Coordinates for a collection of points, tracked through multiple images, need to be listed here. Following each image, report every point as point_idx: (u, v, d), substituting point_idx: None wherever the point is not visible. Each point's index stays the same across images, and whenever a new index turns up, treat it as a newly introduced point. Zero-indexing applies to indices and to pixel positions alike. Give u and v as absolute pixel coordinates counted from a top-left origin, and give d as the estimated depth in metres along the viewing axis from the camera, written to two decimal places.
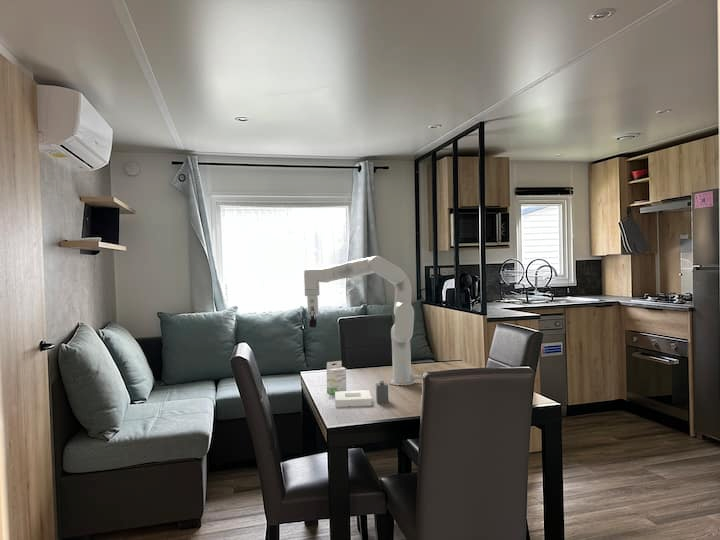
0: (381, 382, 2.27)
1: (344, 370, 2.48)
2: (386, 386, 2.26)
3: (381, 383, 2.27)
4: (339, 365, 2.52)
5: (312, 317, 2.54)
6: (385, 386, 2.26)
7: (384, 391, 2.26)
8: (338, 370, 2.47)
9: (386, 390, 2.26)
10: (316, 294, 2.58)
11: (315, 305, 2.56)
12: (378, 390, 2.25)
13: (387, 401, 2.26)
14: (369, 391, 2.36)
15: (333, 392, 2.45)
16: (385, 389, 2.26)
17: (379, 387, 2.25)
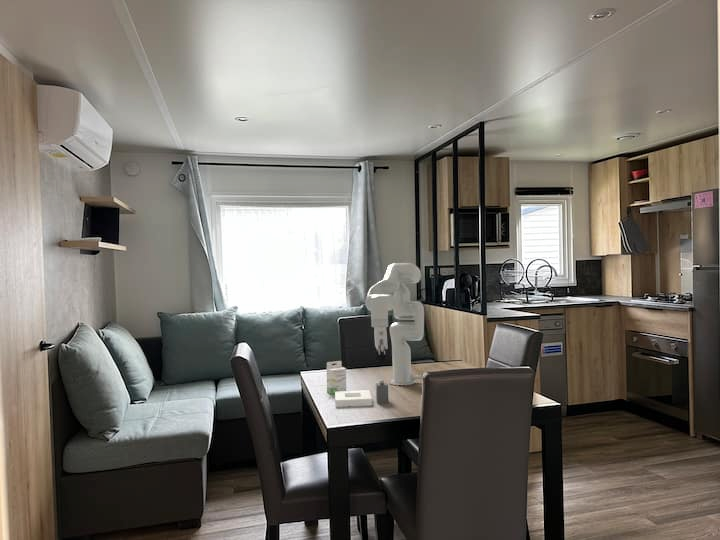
0: (381, 382, 2.27)
1: (344, 370, 2.48)
2: (386, 386, 2.26)
3: (381, 383, 2.27)
4: (339, 365, 2.52)
5: (382, 352, 2.21)
6: (385, 386, 2.26)
7: (384, 391, 2.26)
8: (338, 370, 2.47)
9: (386, 390, 2.26)
10: (385, 325, 2.25)
11: (385, 338, 2.23)
12: (378, 390, 2.25)
13: (387, 401, 2.26)
14: (369, 391, 2.36)
15: (333, 392, 2.45)
16: (385, 389, 2.26)
17: (379, 387, 2.25)
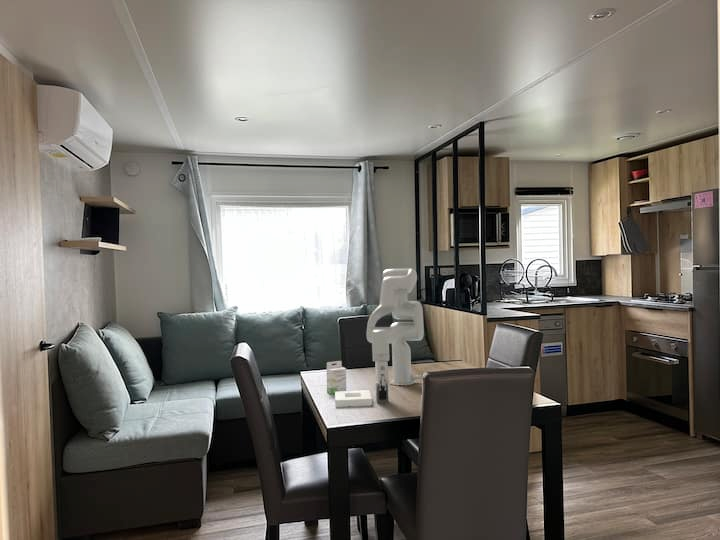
0: (381, 382, 2.27)
1: (344, 370, 2.48)
2: (386, 386, 2.26)
3: None
4: (339, 365, 2.52)
5: (383, 388, 2.23)
6: None
7: None
8: (338, 370, 2.47)
9: (386, 390, 2.26)
10: (386, 359, 2.25)
11: (386, 373, 2.23)
12: (378, 390, 2.25)
13: (387, 401, 2.26)
14: (369, 391, 2.36)
15: (333, 392, 2.45)
16: None
17: None
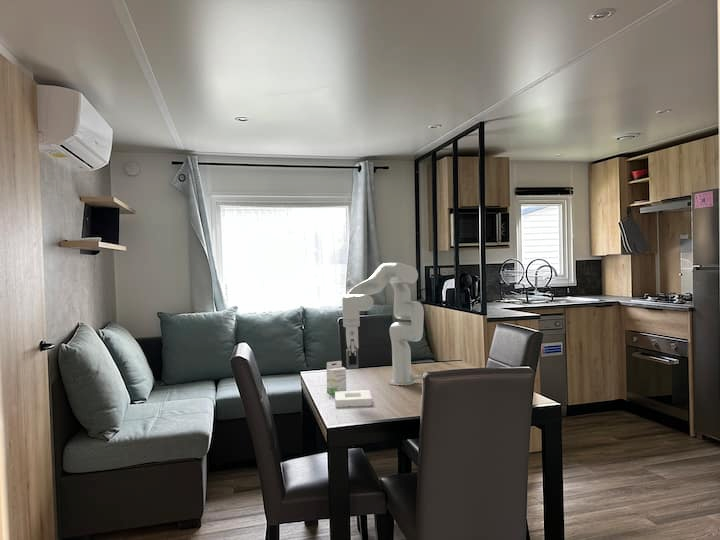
0: None
1: (344, 370, 2.48)
2: (356, 351, 2.28)
3: None
4: (339, 365, 2.52)
5: (352, 353, 2.25)
6: None
7: None
8: (338, 370, 2.47)
9: (356, 355, 2.28)
10: (356, 325, 2.27)
11: (356, 338, 2.25)
12: (348, 355, 2.27)
13: (357, 366, 2.28)
14: (369, 391, 2.36)
15: (333, 392, 2.45)
16: None
17: None
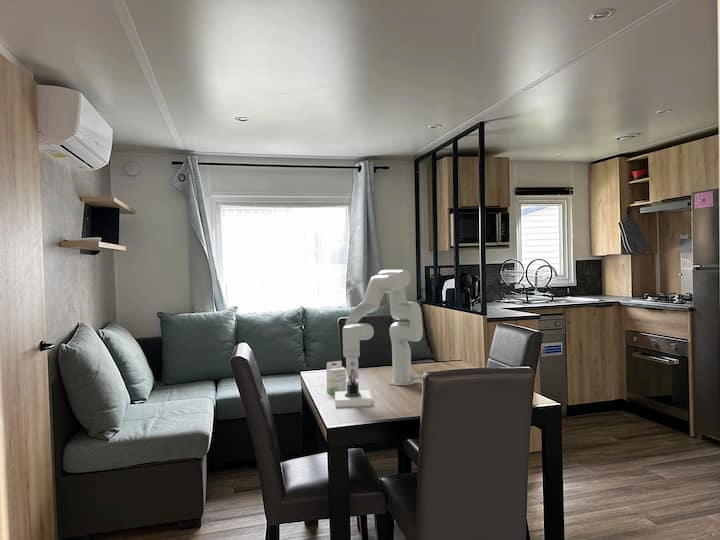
0: None
1: (344, 370, 2.48)
2: None
3: None
4: (339, 365, 2.52)
5: (353, 383, 2.24)
6: None
7: None
8: (338, 370, 2.47)
9: None
10: (356, 355, 2.27)
11: (356, 368, 2.25)
12: None
13: None
14: (369, 391, 2.36)
15: (333, 392, 2.45)
16: None
17: None
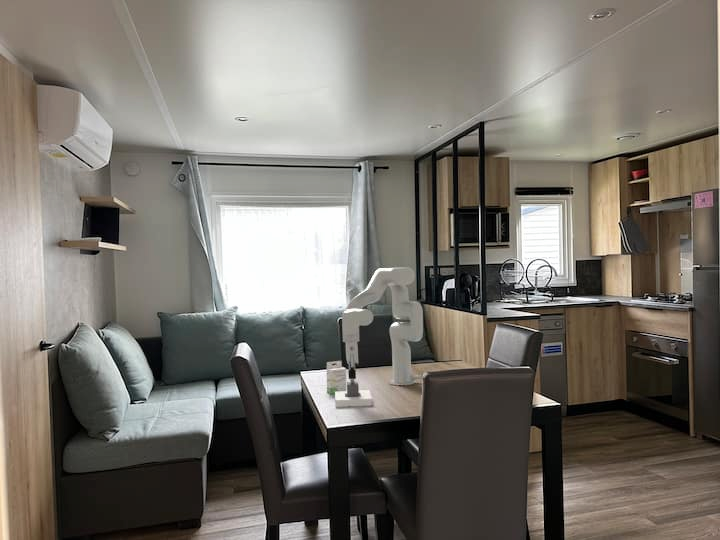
0: (352, 381, 2.29)
1: (344, 370, 2.48)
2: (356, 385, 2.28)
3: (352, 382, 2.29)
4: (339, 365, 2.52)
5: (352, 368, 2.28)
6: (355, 385, 2.28)
7: (354, 390, 2.28)
8: (338, 370, 2.47)
9: (356, 389, 2.28)
10: (356, 340, 2.27)
11: (355, 353, 2.25)
12: (349, 389, 2.28)
13: None
14: (369, 391, 2.36)
15: (333, 392, 2.45)
16: (356, 388, 2.28)
17: (350, 386, 2.28)
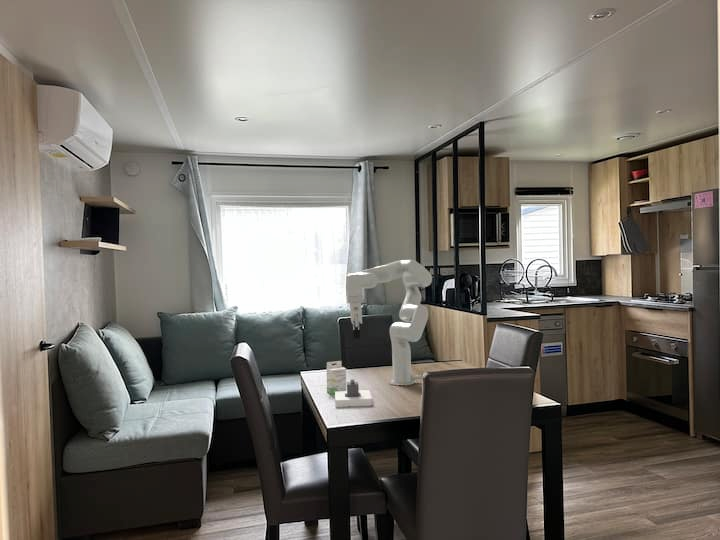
0: (352, 381, 2.29)
1: (344, 370, 2.48)
2: (356, 385, 2.28)
3: (352, 382, 2.29)
4: (339, 365, 2.52)
5: (356, 328, 2.40)
6: (355, 385, 2.28)
7: (354, 390, 2.28)
8: (338, 370, 2.47)
9: (356, 389, 2.28)
10: (360, 301, 2.39)
11: (359, 313, 2.37)
12: (349, 389, 2.28)
13: None
14: (369, 391, 2.36)
15: (333, 392, 2.45)
16: (356, 388, 2.28)
17: (350, 386, 2.28)
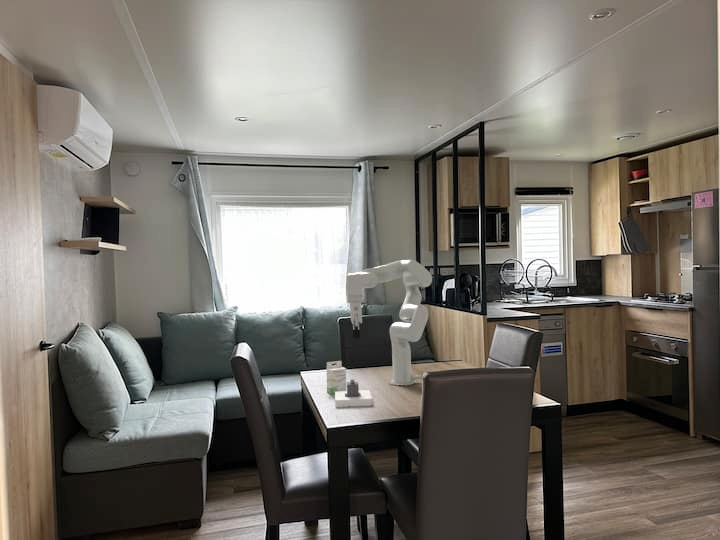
0: (352, 381, 2.29)
1: (344, 370, 2.48)
2: (356, 385, 2.28)
3: (352, 382, 2.29)
4: (339, 365, 2.52)
5: (356, 327, 2.40)
6: (355, 385, 2.28)
7: (354, 390, 2.28)
8: (338, 370, 2.47)
9: (356, 389, 2.28)
10: (360, 301, 2.40)
11: (359, 313, 2.37)
12: (349, 389, 2.28)
13: None
14: (369, 391, 2.36)
15: (333, 392, 2.45)
16: (356, 388, 2.28)
17: (350, 386, 2.28)
